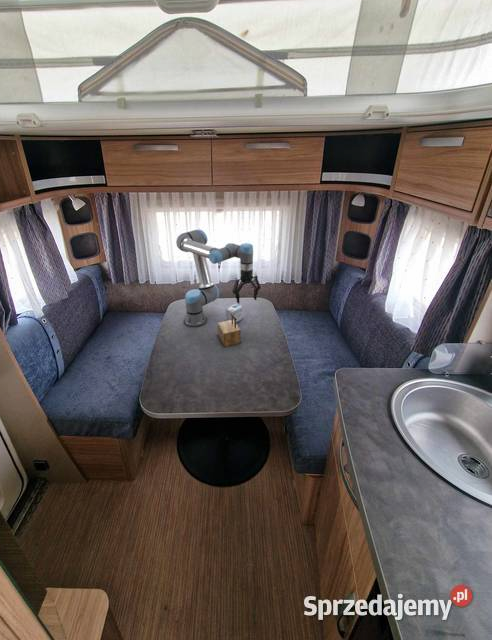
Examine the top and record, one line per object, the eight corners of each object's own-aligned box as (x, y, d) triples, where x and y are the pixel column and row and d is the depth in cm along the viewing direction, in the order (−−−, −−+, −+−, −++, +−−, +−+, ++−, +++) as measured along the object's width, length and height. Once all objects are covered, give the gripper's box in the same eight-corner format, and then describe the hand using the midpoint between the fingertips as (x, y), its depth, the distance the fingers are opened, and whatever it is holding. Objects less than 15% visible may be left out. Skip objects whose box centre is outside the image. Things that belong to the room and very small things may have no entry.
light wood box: (224, 346, 180) (223, 323, 173) (218, 335, 192) (217, 313, 184) (240, 342, 183) (240, 320, 176) (233, 331, 195) (232, 310, 187)
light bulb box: (236, 315, 214) (235, 303, 209) (242, 318, 209) (242, 306, 205) (226, 321, 207) (225, 308, 202) (232, 324, 202) (232, 311, 198)
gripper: (230, 274, 165) (231, 307, 174) (266, 268, 171) (265, 300, 180) (226, 269, 171) (227, 301, 180) (261, 264, 178) (260, 294, 187)
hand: (246, 300), depth 180 cm, fingers open, 11 cm apart
